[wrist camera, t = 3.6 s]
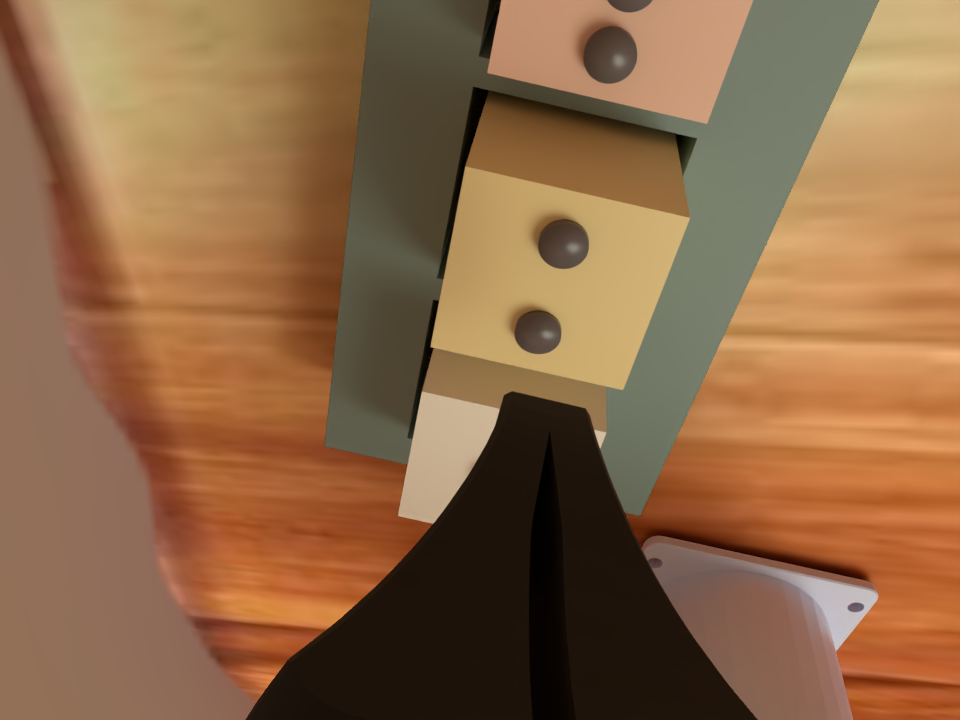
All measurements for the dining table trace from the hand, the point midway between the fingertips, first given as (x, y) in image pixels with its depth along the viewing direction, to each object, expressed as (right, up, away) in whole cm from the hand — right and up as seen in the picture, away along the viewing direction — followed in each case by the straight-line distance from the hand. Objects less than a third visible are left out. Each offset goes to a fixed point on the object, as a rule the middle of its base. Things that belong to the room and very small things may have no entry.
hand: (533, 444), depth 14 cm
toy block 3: (0, +1, +9) cm, 9 cm away
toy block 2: (+1, +5, +6) cm, 8 cm away
